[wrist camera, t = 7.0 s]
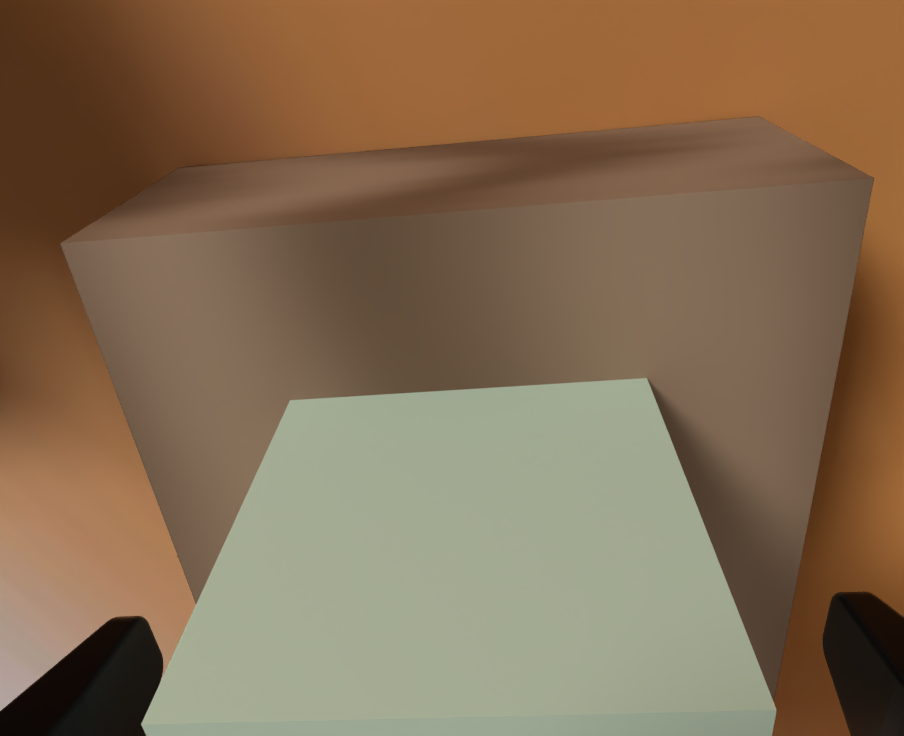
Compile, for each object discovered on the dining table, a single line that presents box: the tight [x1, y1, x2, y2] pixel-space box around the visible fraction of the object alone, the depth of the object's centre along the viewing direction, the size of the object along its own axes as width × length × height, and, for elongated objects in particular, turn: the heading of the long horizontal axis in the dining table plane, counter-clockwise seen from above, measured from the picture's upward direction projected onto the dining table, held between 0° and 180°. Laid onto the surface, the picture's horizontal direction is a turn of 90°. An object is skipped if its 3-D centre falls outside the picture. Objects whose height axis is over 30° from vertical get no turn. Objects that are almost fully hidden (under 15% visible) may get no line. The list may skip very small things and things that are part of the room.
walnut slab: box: [60, 117, 874, 702], centre depth 13 cm, size 10×10×4 cm
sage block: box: [141, 378, 777, 736], centre depth 9 cm, size 5×5×5 cm
